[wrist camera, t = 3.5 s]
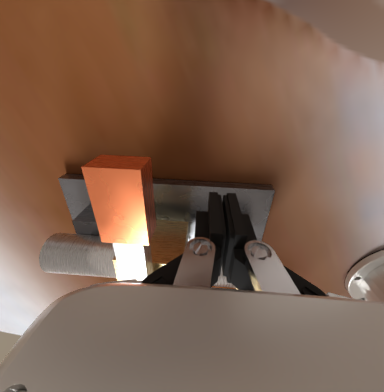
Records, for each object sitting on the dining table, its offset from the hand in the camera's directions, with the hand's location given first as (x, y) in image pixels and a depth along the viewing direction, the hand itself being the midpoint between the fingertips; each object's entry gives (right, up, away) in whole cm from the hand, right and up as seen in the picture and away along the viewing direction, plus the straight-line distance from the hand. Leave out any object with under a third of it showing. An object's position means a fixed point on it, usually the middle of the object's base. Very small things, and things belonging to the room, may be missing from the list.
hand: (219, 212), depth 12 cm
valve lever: (-6, -3, +3) cm, 7 cm away
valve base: (-5, -3, +15) cm, 16 cm away
